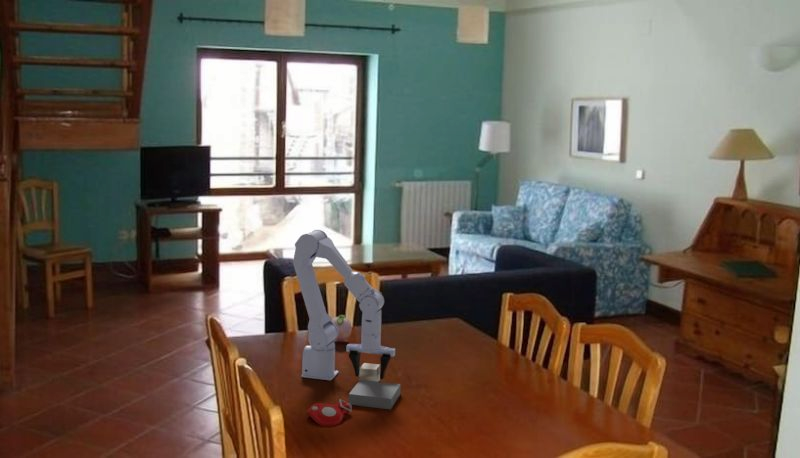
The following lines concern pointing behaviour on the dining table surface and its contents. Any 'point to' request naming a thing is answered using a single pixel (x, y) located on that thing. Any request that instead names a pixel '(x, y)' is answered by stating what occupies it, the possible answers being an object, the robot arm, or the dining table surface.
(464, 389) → the dining table surface
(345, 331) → the decorative fruit
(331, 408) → the tracker holder
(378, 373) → the cream cube
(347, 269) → the robot arm
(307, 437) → the dining table surface
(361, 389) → the gray base
